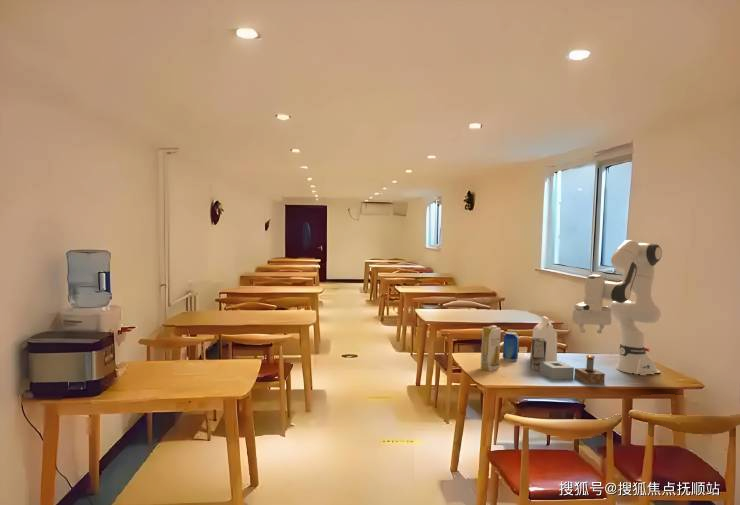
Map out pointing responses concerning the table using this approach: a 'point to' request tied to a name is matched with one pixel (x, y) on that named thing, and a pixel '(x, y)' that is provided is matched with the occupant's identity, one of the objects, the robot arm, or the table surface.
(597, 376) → the block
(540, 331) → the milk
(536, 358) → the coffee box
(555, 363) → the socket
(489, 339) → the juice carton
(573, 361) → the table surface
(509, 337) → the beer can
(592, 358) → the pin
